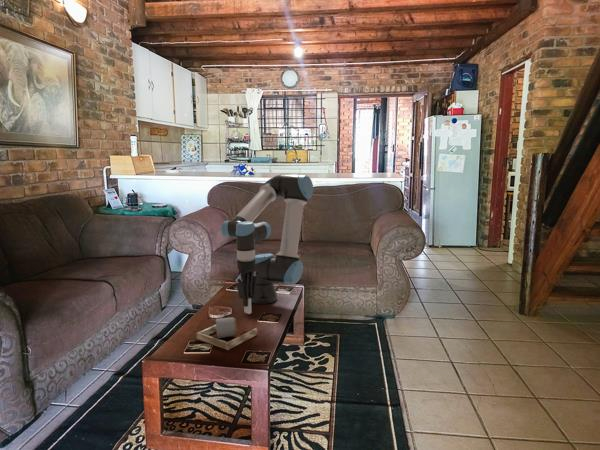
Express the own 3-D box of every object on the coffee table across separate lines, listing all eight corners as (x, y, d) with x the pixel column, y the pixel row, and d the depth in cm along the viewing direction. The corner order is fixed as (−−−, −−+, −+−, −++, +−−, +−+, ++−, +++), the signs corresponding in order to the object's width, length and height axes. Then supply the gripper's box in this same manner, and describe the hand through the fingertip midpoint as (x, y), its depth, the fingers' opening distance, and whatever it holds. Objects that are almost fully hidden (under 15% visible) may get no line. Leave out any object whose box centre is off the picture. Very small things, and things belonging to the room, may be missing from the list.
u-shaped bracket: (226, 325, 179) (226, 319, 178) (257, 334, 169) (257, 328, 169) (196, 339, 165) (196, 333, 164) (227, 350, 155) (227, 343, 155)
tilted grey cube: (238, 337, 163) (236, 318, 162) (217, 341, 162) (215, 322, 161) (236, 328, 174) (233, 311, 173) (216, 332, 172) (213, 314, 171)
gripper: (249, 254, 180) (251, 306, 184) (228, 261, 169) (230, 315, 173) (263, 256, 175) (264, 309, 180) (242, 264, 165) (244, 319, 169)
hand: (248, 312), depth 176 cm, fingers closed
